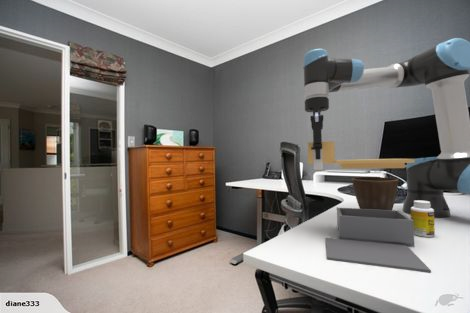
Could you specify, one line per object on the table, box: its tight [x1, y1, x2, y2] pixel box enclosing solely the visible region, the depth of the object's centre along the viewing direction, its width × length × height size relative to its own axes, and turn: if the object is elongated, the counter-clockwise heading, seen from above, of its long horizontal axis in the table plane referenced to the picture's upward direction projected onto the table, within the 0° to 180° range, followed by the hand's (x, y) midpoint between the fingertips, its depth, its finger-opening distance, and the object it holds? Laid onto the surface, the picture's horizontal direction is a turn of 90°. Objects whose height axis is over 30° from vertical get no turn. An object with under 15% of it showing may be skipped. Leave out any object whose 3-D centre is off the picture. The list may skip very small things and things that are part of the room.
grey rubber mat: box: [325, 237, 432, 274], centre depth 56 cm, size 20×14×1 cm
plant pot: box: [351, 176, 399, 210], centre depth 85 cm, size 15×15×16 cm
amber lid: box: [307, 140, 415, 170], centre depth 70 cm, size 27×13×8 cm, turn 69°
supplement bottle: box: [410, 200, 436, 238], centre depth 69 cm, size 6×6×10 cm
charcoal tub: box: [336, 207, 415, 248], centre depth 69 cm, size 18×12×7 cm, turn 69°
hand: (318, 169), depth 74 cm, fingers closed on amber lid, 3 cm apart
